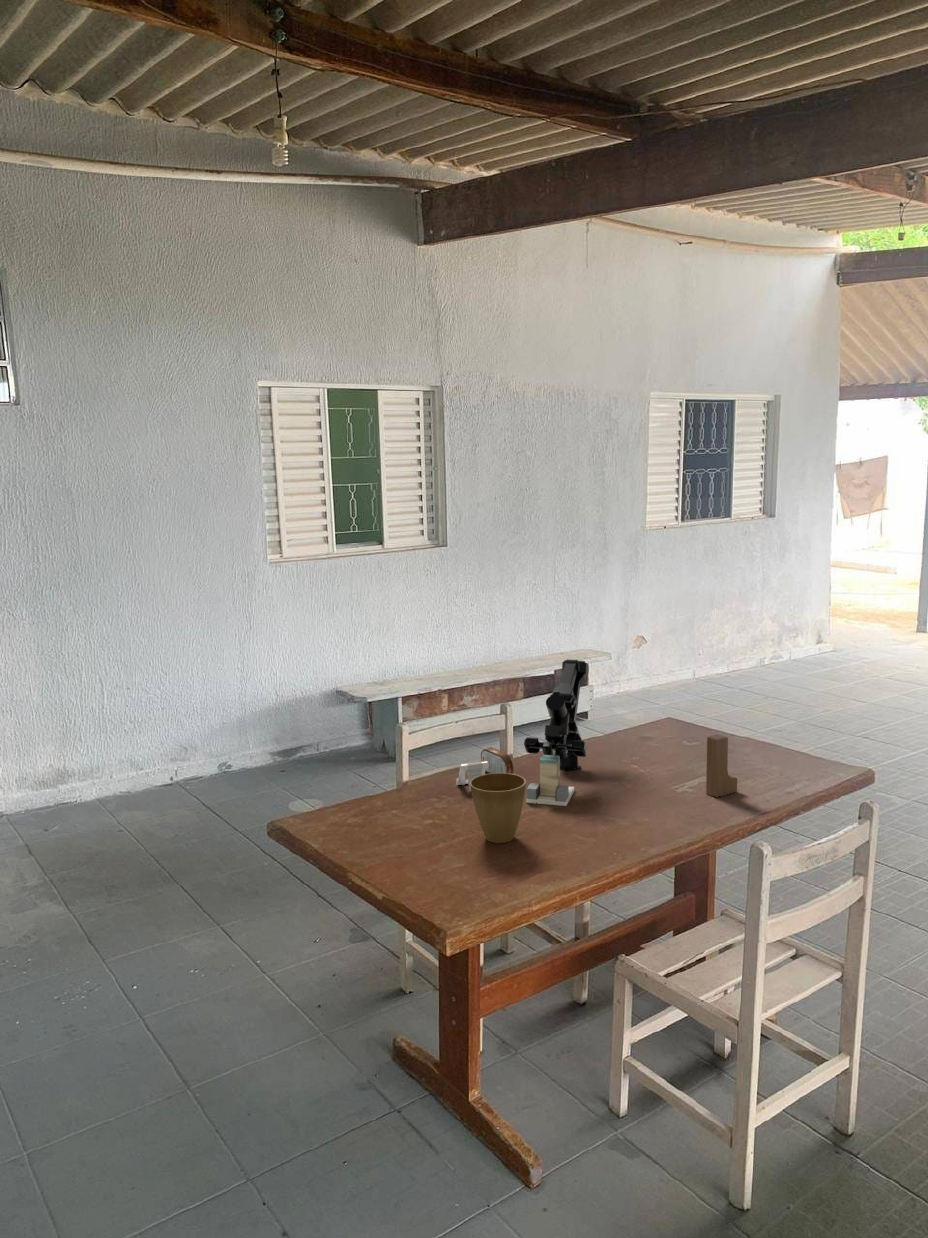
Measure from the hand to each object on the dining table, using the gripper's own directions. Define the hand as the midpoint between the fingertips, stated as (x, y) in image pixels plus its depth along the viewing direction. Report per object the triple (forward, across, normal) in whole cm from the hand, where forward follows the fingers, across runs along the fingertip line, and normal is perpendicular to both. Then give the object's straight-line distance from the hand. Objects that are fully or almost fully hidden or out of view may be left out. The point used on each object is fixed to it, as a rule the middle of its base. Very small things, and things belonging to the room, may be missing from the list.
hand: (551, 771), depth 280 cm
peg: (+6, 0, +2) cm, 6 cm away
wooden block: (-4, +50, +14) cm, 52 cm away
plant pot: (+31, -7, -20) cm, 38 cm away
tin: (-5, -21, +15) cm, 27 cm away
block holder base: (+6, 0, +4) cm, 8 cm away
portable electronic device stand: (+4, -25, +6) cm, 27 cm away
